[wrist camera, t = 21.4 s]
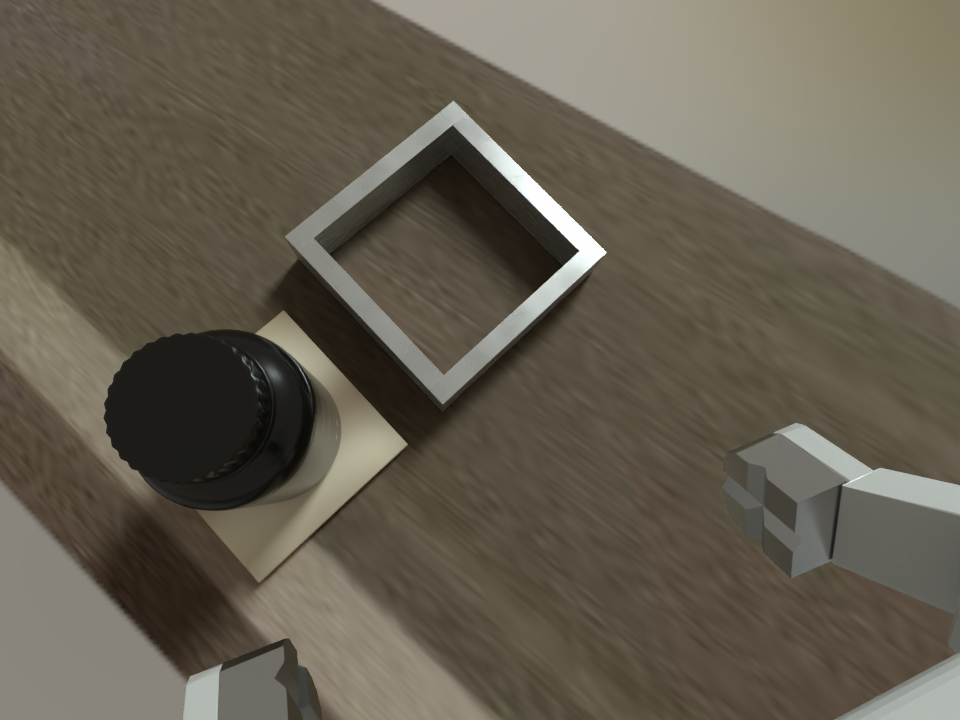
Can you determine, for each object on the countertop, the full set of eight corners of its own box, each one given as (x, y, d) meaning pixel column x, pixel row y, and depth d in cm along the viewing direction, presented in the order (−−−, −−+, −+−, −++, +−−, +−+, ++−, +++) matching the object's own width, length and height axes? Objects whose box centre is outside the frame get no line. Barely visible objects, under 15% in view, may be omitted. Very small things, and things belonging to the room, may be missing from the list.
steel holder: (592, 272, 34) (606, 252, 31) (442, 412, 32) (442, 404, 29) (452, 132, 36) (453, 101, 33) (297, 258, 33) (284, 236, 30)
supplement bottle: (195, 499, 30) (40, 507, 18) (217, 362, 31) (87, 289, 20) (337, 509, 30) (274, 523, 19) (352, 373, 32) (304, 307, 20)
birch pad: (408, 444, 32) (407, 444, 31) (262, 580, 30) (258, 582, 29) (286, 313, 33) (283, 310, 32) (137, 437, 31) (131, 436, 30)
